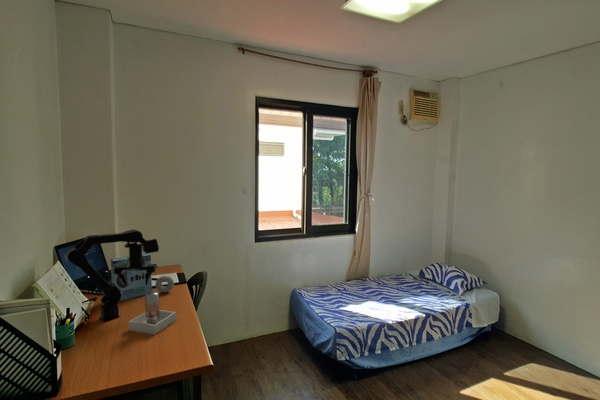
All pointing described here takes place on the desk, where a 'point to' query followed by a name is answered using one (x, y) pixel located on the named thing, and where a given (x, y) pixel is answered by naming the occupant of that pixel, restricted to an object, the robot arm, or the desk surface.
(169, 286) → the donut
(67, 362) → the desk surface
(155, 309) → the tin
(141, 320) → the tray
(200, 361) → the desk surface
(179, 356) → the desk surface
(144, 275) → the gum box
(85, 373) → the desk surface
